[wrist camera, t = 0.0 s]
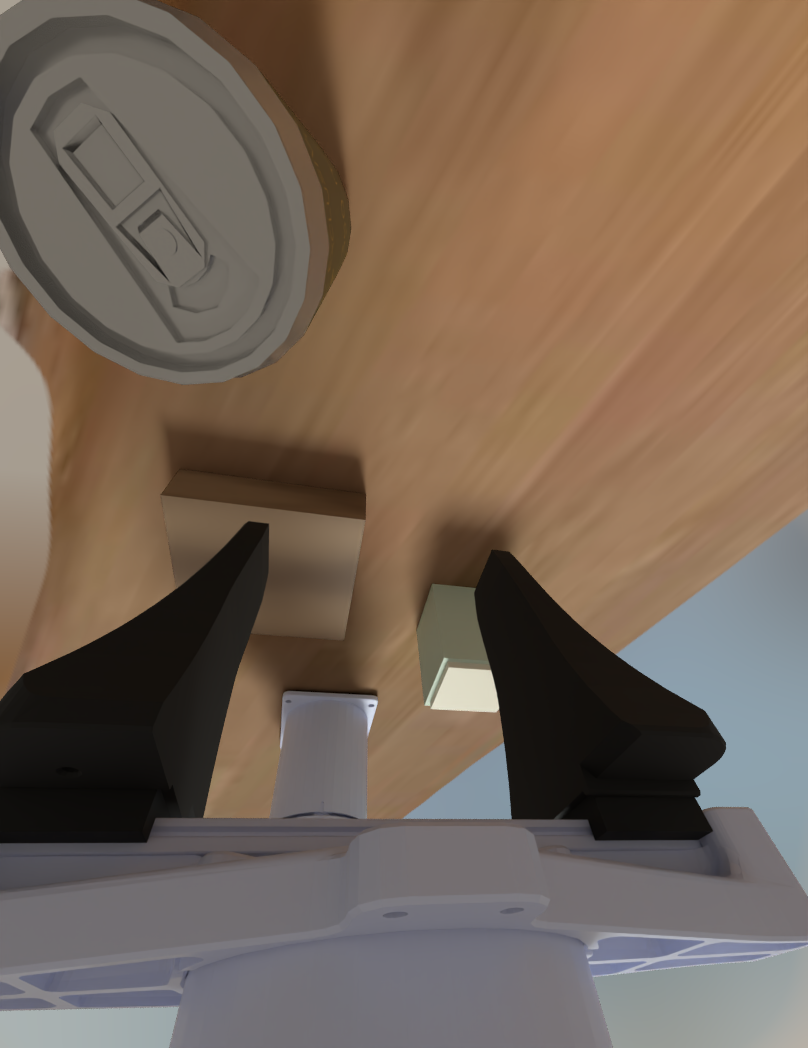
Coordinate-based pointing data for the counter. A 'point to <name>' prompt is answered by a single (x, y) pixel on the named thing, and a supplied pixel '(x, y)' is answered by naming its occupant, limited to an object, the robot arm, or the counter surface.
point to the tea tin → (454, 653)
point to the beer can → (160, 190)
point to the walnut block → (274, 544)
